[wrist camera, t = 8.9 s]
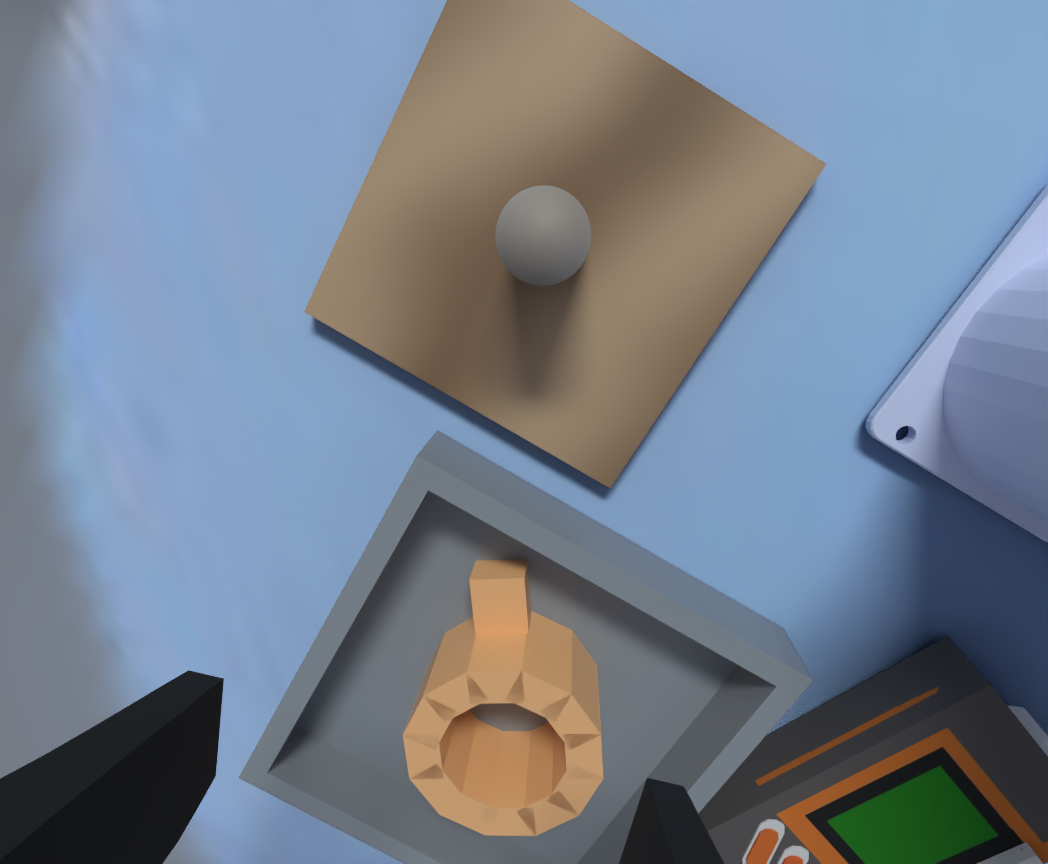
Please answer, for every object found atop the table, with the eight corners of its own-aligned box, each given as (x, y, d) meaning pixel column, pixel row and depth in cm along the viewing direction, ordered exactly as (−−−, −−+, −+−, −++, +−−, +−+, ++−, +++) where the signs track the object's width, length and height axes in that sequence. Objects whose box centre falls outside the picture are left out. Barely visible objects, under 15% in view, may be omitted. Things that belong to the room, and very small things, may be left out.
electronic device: (572, 911, 20) (1012, 687, 16) (575, 830, 23) (950, 621, 19) (697, 1033, 21) (1141, 851, 17) (685, 941, 24) (1065, 766, 20)
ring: (601, 756, 20) (606, 836, 18) (438, 756, 21) (417, 834, 18) (591, 556, 19) (595, 610, 16) (413, 562, 19) (385, 615, 16)
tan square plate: (817, 167, 16) (898, 135, 12) (609, 481, 18) (618, 540, 14) (478, -48, 15) (445, -158, 11) (312, 310, 18) (238, 323, 14)
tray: (783, 628, 19) (813, 680, 17) (577, 879, 23) (577, 952, 20) (437, 430, 18) (416, 455, 16) (275, 721, 22) (238, 777, 19)
